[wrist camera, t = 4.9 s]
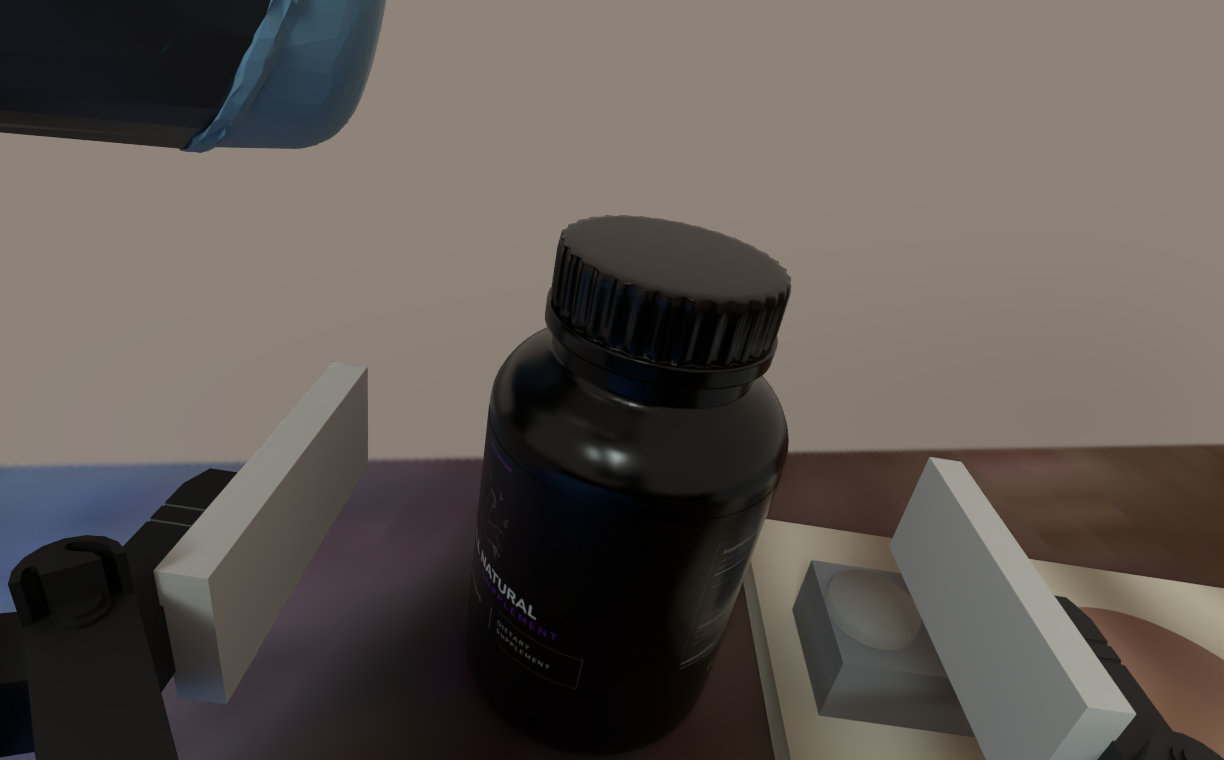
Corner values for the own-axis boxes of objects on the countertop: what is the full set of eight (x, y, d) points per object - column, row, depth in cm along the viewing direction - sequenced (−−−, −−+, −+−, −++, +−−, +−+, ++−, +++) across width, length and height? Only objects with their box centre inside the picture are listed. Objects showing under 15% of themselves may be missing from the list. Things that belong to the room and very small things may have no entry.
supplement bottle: (411, 697, 18) (430, 243, 12) (532, 539, 24) (583, 181, 18) (666, 820, 16) (825, 361, 11) (729, 617, 22) (853, 251, 16)
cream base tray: (803, 917, 15) (855, 825, 13) (734, 536, 25) (759, 460, 24) (1833, 1045, 16) (1996, 975, 14) (1357, 630, 27) (1421, 563, 25)
